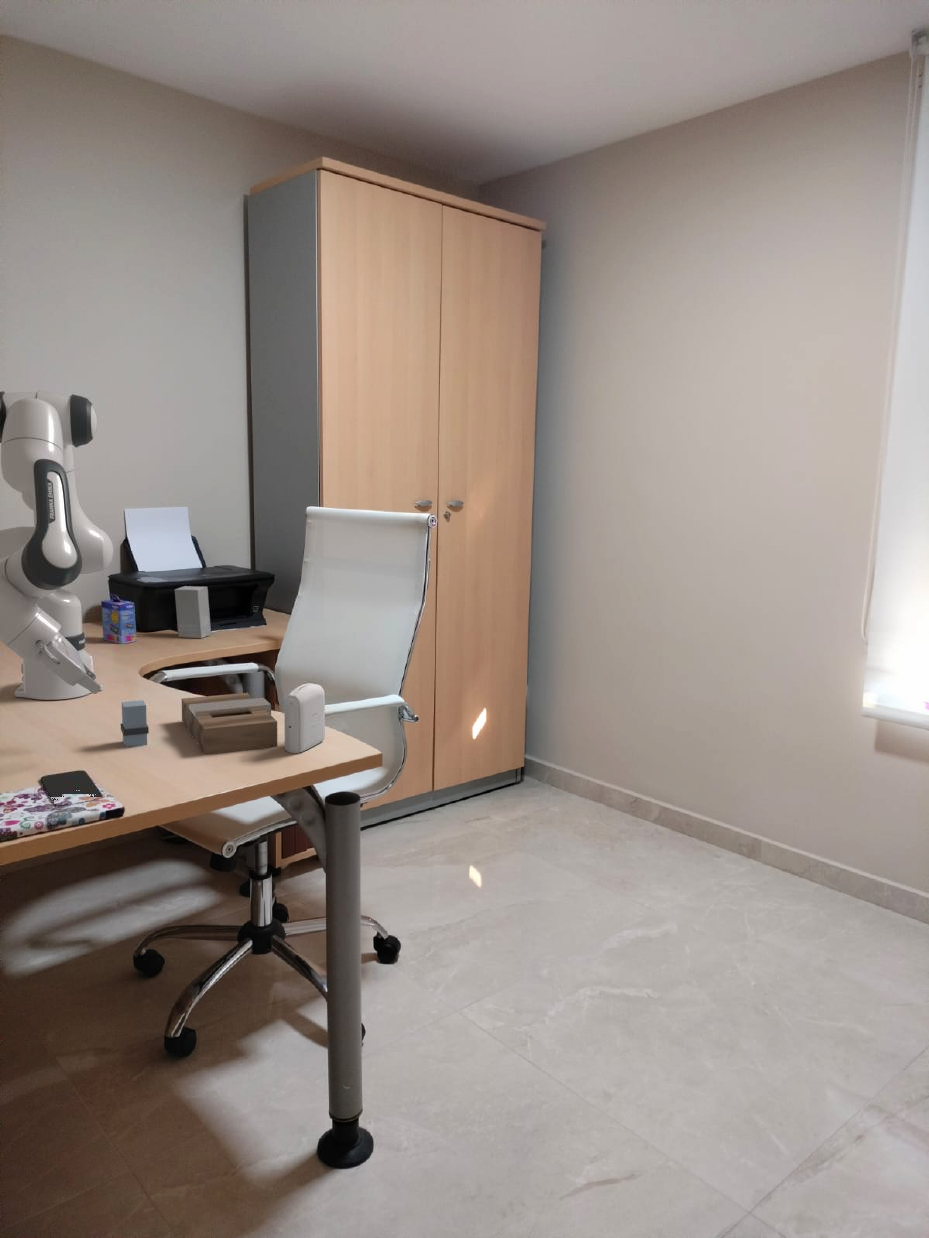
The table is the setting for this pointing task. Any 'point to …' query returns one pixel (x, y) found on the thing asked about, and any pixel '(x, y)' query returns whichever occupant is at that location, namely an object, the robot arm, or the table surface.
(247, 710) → the white rectangular bar
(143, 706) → the blue-gray rectangular block
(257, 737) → the brown tissue box
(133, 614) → the ink cartridge box
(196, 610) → the skincare box
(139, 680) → the table surface
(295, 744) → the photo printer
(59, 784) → the phone
